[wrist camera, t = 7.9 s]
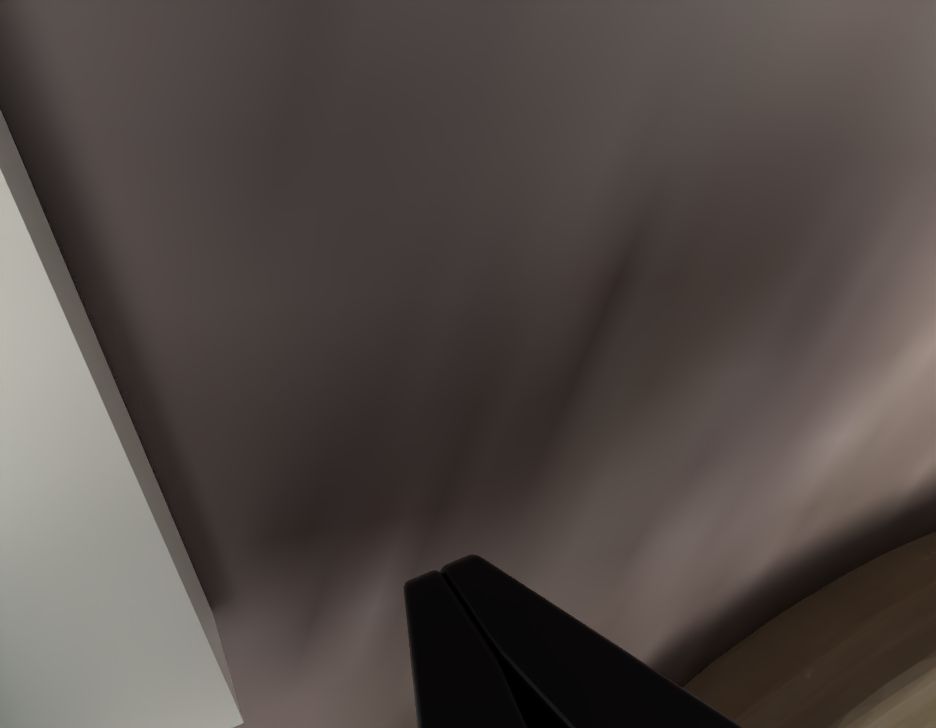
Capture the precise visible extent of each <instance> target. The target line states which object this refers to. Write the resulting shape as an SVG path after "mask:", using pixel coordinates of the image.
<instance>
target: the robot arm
mask: <svg viewBox="0 0 936 728" xmlns="http://www.w3.org/2000/svg"><path fill="white" fill-rule="evenodd" d="M404 596H405V606H406V616H407V626H408V636H409V646H410V656H411V666H412V676H413V686H414V696H415V706H416V715H417V725H418V728H743V727H742V726H740V725H739V724H737V723H736V722H734V721H733V720H731V719H729V718H728V717H726V716H725V715H723V714H722V713H720V712H719V711H717V710H716V709H714V708H712V707H711V706H709V705H708V704H706V703H705V702H703V701H702V700H700V699H699V698H697V697H696V696H694V695H692V694H691V693H689V692H688V691H686V690H685V689H683V688H682V687H680V686H679V685H677V684H676V683H674V682H672V681H671V680H669V679H668V678H666V677H665V676H663V675H662V674H660V673H659V672H657V671H656V670H654V669H652V668H651V667H649V666H648V665H646V664H645V663H643V662H642V661H640V660H639V659H637V658H636V657H634V656H632V655H631V654H629V653H628V652H626V651H625V650H623V649H622V648H620V647H619V646H617V645H615V644H614V643H612V642H611V641H609V640H608V639H606V638H605V637H603V636H602V635H600V634H599V633H597V632H595V631H594V630H592V629H591V628H589V627H588V626H586V625H585V624H583V623H582V622H580V621H579V620H577V619H575V618H574V617H572V616H571V615H569V614H568V613H566V612H565V611H563V610H562V609H560V608H559V607H557V606H555V605H554V604H552V603H551V602H549V601H548V600H546V599H545V598H543V597H542V596H540V595H539V594H537V593H535V592H534V591H532V590H531V589H529V588H528V587H526V586H525V585H523V584H522V583H520V582H519V581H517V580H515V579H514V578H512V577H511V576H509V575H508V574H506V573H505V572H503V571H502V570H500V569H498V568H497V567H495V566H494V565H492V564H491V563H489V562H488V561H486V560H485V559H483V558H481V557H480V556H477V555H468V556H466V557H463V558H461V559H459V560H456V561H454V562H452V563H449V564H447V565H445V566H444V567H443V568H442V569H441V573H440V572H439V571H436V570H435V571H430V572H428V573H426V574H423V575H421V576H419V577H416V578H414V579H412V580H409V581H408V582H406V583H405V586H404Z"/></svg>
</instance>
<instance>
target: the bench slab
mask: <svg viewBox="0 0 936 728" xmlns="http://www.w3.org/2000/svg"><path fill="white" fill-rule="evenodd" d="M243 723H244V721H243V718H242V714H241V711H240V707H239V704H238V700H237V697H236V693H235V690H234V686H233V683H232V679H231V676H230V672H229V669H228V665H227V662H226V658H225V655H224V651H223V648H222V644H221V641H220V637H219V634H218V630H217V627H216V623H215V620H214V616H213V613H212V611H211V608H210V606H209V604H208V601H207V599H206V597H205V594H204V592H203V589H202V587H201V585H200V582H199V580H198V578H197V575H196V573H195V570H194V568H193V566H192V563H191V561H190V559H189V556H188V554H187V551H186V549H185V547H184V544H183V542H182V540H181V537H180V535H179V532H178V530H177V528H176V525H175V523H174V521H173V518H172V516H171V513H170V511H169V509H168V506H167V504H166V502H165V499H164V497H163V494H162V492H161V490H160V487H159V485H158V483H157V480H156V478H155V475H154V473H153V471H152V468H151V466H150V464H149V461H148V459H147V456H146V454H145V452H144V449H143V447H142V445H141V442H140V440H139V437H138V435H137V433H136V430H135V428H134V426H133V423H132V421H131V418H130V416H129V414H128V411H127V409H126V407H125V404H124V402H123V399H122V397H121V395H120V392H119V390H118V388H117V385H116V383H115V380H114V378H113V376H112V373H111V371H110V369H109V366H108V364H107V361H106V359H105V357H104V354H103V352H102V350H101V347H100V345H99V342H98V340H97V338H96V335H95V333H94V331H93V328H92V326H91V323H90V321H89V319H88V316H87V314H86V312H85V309H84V307H83V304H82V302H81V300H80V297H79V295H78V293H77V290H76V288H75V285H74V283H73V281H72V278H71V276H70V274H69V271H68V269H67V266H66V264H65V262H64V259H63V257H62V255H61V252H60V250H59V247H58V245H57V243H56V240H55V238H54V236H53V233H52V231H51V228H50V226H49V224H48V221H47V219H46V217H45V214H44V212H43V209H42V207H41V205H40V202H39V200H38V198H37V195H36V193H35V190H34V188H33V186H32V183H31V181H30V179H29V176H28V174H27V171H26V169H25V167H24V164H23V162H22V160H21V157H20V155H19V152H18V150H17V148H16V145H15V143H14V141H13V138H12V136H11V133H10V131H9V129H8V126H7V124H6V122H5V119H4V117H3V114H2V112H1V110H0V728H234V727H236V726H238V725H240V724H243Z"/></svg>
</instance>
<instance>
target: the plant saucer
mask: <svg viewBox="0 0 936 728" xmlns="http://www.w3.org/2000/svg"><path fill="white" fill-rule="evenodd" d="M682 688H683V689H685V690H686V691H688V692H689V693H691V694H692V695H694V696H696V697H697V698H699V699H700V700H702V701H703V702H705V703H706V704H708V705H709V706H711V707H712V708H714V709H716V710H717V711H719V712H720V713H722V714H723V715H725V716H726V717H728V718H729V719H731V720H733V721H734V722H736V723H737V724H739V725H740V726H742V727H743V728H936V532H933V533H931V534H928V535H926V536H923V537H921V538H918V539H916V540H914V541H911V542H909V543H907V544H905V545H902V546H900V547H898V548H896V549H893V550H891V551H889V552H887V553H885V554H883V555H881V556H878V557H877V558H875V559H873V560H871V561H869V562H867V563H865V564H863V565H862V566H860V567H858V568H856V569H854V570H852V571H850V572H849V573H847V574H845V575H843V576H841V577H840V578H838V579H836V580H835V581H833V582H831V583H830V584H828V585H826V586H825V587H823V588H821V589H820V590H818V591H816V592H815V593H813V594H811V595H809V596H808V597H806V598H804V599H803V600H801V601H800V602H798V603H797V604H795V605H794V606H792V607H790V608H789V609H787V610H786V611H784V612H783V613H781V614H780V615H778V616H776V617H775V618H773V619H772V620H770V621H769V622H767V623H766V624H765V625H763V626H762V627H760V628H759V629H758V630H756V631H755V632H753V633H752V634H751V635H749V636H748V637H747V638H745V639H744V640H742V641H741V642H740V643H738V644H737V645H735V646H734V647H733V648H731V649H730V650H729V651H727V652H726V653H724V654H723V655H722V656H720V657H719V658H717V659H716V660H715V661H713V662H712V663H711V664H710V665H708V666H707V667H706V668H705V669H704V670H702V671H701V672H700V673H699V674H697V675H696V676H695V677H694V678H693V679H691V680H690V681H689V682H688V683H687V684H685V685H684V686H683V687H682Z"/></svg>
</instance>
